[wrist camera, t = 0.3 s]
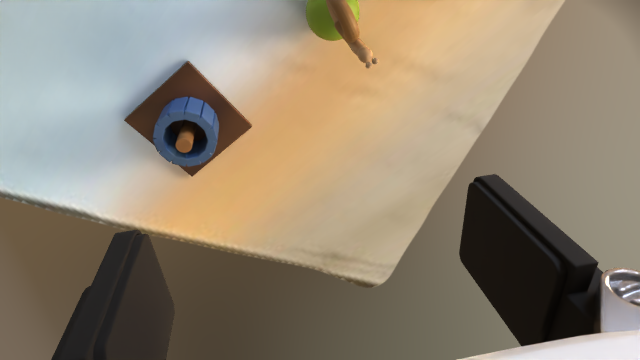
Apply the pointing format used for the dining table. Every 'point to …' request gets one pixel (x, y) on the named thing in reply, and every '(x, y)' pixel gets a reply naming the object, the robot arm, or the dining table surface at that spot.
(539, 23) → the dining table surface
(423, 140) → the dining table surface
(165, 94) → the dowel stand
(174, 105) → the blue ring
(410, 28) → the dining table surface
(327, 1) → the snail figurine
